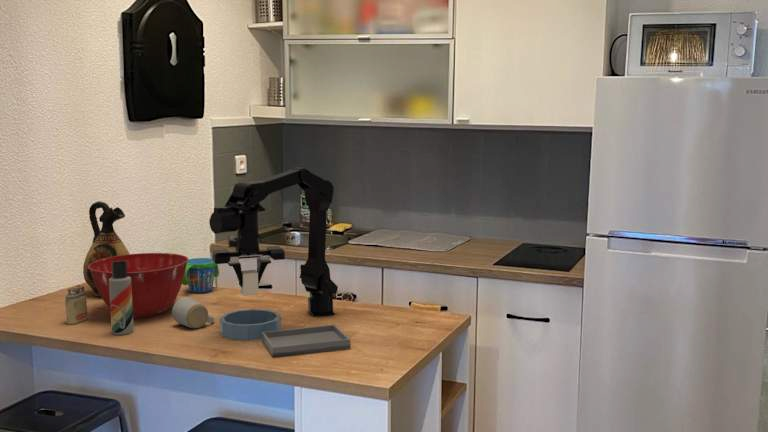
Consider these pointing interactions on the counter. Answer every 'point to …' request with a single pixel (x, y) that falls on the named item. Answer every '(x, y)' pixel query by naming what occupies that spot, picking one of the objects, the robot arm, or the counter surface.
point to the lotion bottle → (121, 299)
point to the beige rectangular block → (249, 282)
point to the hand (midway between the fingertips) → (249, 286)
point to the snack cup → (200, 274)
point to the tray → (305, 340)
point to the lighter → (76, 305)
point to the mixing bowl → (144, 280)
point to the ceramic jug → (103, 239)
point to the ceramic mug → (190, 313)
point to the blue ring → (257, 319)
